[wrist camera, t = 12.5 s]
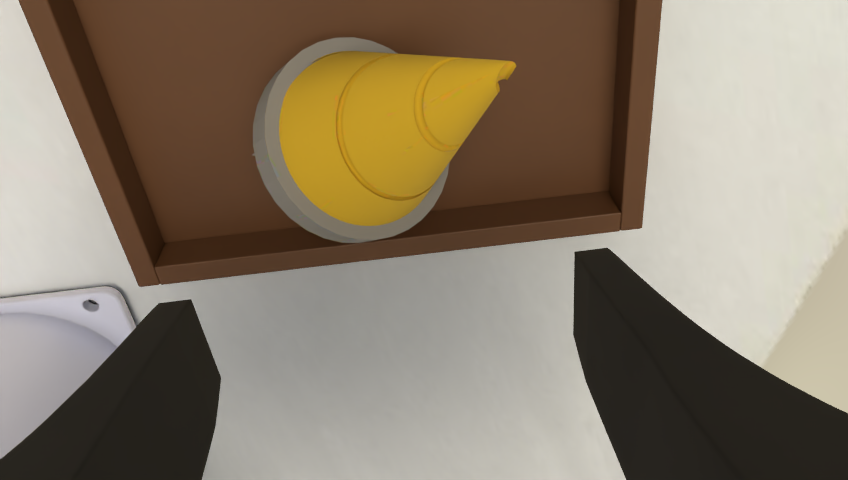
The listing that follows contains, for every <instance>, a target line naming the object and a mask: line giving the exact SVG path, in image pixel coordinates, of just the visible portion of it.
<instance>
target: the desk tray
mask: <svg viewBox="0 0 848 480" xmlns="http://www.w3.org/2000/svg"><path fill="white" fill-rule="evenodd" d="M19 3H20V5H21V7H22V10H23V12H24V14H25V17H26V19H27V22H28V24H29V26H30V29H31V31H32V33H33V36H34V38H35V41H36V43H37V45H38V48H39V50H40V52H41V55H42V57H43V60H44V62H45V64H46V67H47V69H48V71H49V74H50V76H51V79H52V81H53V83H54V86H55V88H56V90H57V93H58V95H59V98H60V100H61V102H62V105H63V107H64V109H65V112H66V114H67V117H68V119H69V121H70V124H71V126H72V128H73V131H74V133H75V136H76V138H77V140H78V143H79V145H80V148H81V150H82V152H83V155H84V157H85V159H86V162H87V164H88V167H89V169H90V171H91V174H92V176H93V178H94V181H95V183H96V186H97V188H98V190H99V193H100V195H101V197H102V200H103V202H104V205H105V207H106V209H107V212H108V214H109V216H110V219H111V221H112V224H113V226H114V228H115V231H116V233H117V235H118V238H119V240H120V243H121V245H122V247H123V250H124V252H125V254H126V257H127V259H128V262H129V264H130V266H131V269H132V271H133V273H134V276H135V278H136V281H137V283H138V285H139V286H140V287H143V286H151V285H159V284H160V283H161V284H162V285H163V284H171V283H180V282H188V281H197V280H205V279H214V278H222V277H231V276H239V275H248V274H257V273H265V272H274V271H282V270H291V269H299V268H308V267H316V266H325V265H333V264H342V263H351V262H359V261H368V260H376V259H385V258H393V257H402V256H410V255H419V254H427V253H436V252H445V251H453V250H462V249H470V248H479V247H487V246H496V245H504V244H513V243H521V242H530V241H538V240H547V239H556V238H564V237H573V236H581V235H590V234H598V233H607V232H615V231H620V230H631V229H639V228H642V222H643V211H644V199H645V188H646V177H647V166H648V155H649V143H650V132H651V121H652V110H653V99H654V87H655V76H656V65H657V54H658V42H659V31H660V20H661V9H662V0H19ZM343 37H355V38H360V39H365V40H370V41H373V42H376V43H378V44H381V45H383V46H386V47H388V48H390V49H391V50H393V51H395V52H396V53H398V54H410V55H427V56H443V57H459V58H475V59H490V60H504V61H513V62H514V63H515V64H516V68H515V69H514V71H513V72H512V74H511V75H510V77H509V78H508V80H506V79H502V80H499V81H498V84H499V88H500V91H499V93H498V94H497V95H496V97H495V98H494V100H493V101H492V102H491V104H490V105H489V107H488V108H487V110H486V111H485V112H484V114H483V115H482V117H481V118H480V119H479V121H478V122H477V124H476V125H475V127H474V128H473V129H472V131H471V132H470V134H469V135H468V137H467V138H466V139H465V141H464V142H463V144H462V145H461V146H460V148H459V149H458V151H457V152H456V154H455V155H454V156H453V158H452V159H451V161H450V162H449V169H448V175H447V178H446V181H445V184H444V187H443V190H442V193H441V194H440V196H439V198H438V200H437V201H436V203H435V205H434V207H433V208H432V209H431V210H430V211H429V212H428V213H427V215H426V216H425V217H424V218H423V219H422V220H421V221H419V222H418V223H417V224H415V225H414V226H413V227H411V228H410V229H409V230H406V231H404V232H402V233H400V234H397V235H395V236H393V237H388V238H383V239H378V240H373V241H368V242H363V243H341V242H337V241H333V240H329V239H325V238H322V237H320V236H318V235H316V234H313V233H311V232H309V231H307V230H305V229H304V228H303V227H301V226H300V225H299V224H297V223H296V222H294V221H293V220H292V219H290V218H289V217H288V216H287V214H286V213H285V212H284V211H283V210H282V209H281V208H280V207H279V206H278V205H277V204H276V202H275V201H274V199H273V198H272V196H271V194H270V193H269V191H268V190H267V188H266V187H265V185H264V182H263V180H262V177H261V175H260V172H259V170H258V167H257V164H256V158H255V156H253V155H252V154H254V148H253V122H254V117H255V112H256V108H257V104H258V102H259V100H260V97H261V95H262V93H263V91H264V88H265V87H266V86H267V84H268V83H269V81H270V80H271V79H272V77H273V76H274V75H275V73H276V72H278V71H279V70H280V69H281V68H282V67H283V66H284V65H285V64H287V63H288V62H289V61H290V60H291V59H292V58H294V57H295V56H296V55H297V54H298V53H299V52H301V51H302V50H303V49H305V48H307V47H309V46H311V45H313V44H315V43H317V42H320V41H324V40H328V39H332V38H343Z"/></svg>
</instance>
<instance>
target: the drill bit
mask: <svg viewBox="0 0 848 480" xmlns="http://www.w3.org/2000/svg"><path fill="white" fill-rule="evenodd" d="M515 68H516V64H515V63H514V62H513V61H504V60H490V59H475V58H459V57H443V56H427V55H410V54H398V53H396V52H395V51H393V50H391V49H390V48H388V47H386V46H383V45H381V44H378V43H376V42H373V41H370V40H365V39H360V38H355V37H343V38H332V39H328V40H324V41H320V42H317V43H315V44H313V45H311V46H309V47H307V48H305V49H303V50H302V51H301V52H299V53H298V54H297V55H296V56H295V57H294V58H292V59H291V60H290V61H289V62H288V63H287V64H285V65H284V66H283V67H282V68H281V69H280V70H279V71H278V72H276V73H275V75H274V76H273V77H272V79H271V80H270V81H269V83H268V84H267V86H266V87H265V88H264V91H263V93H262V95H261V97H260V100H259V102H258V104H257V108H256V112H255V117H254V122H253V148H254V154H252V155H253V156H255V158H256V164H257V167H258V170H259V172H260V175H261V177H262V180H263V182H264V185H265V187H266V188H267V190H268V191H269V193H270V194H271V196H272V198H273V199H274V201H275V202H276V204H277V205H278V206H279V207H280V208H281V209H282V210H283V211H284V212H285V213H286V214H287V216H288V217H289V218H290V219H292V220H293V221H294V222H296V223H297V224H299V225H300V226H301V227H303V228H304V229H305V230H307V231H309V232H311V233H313V234H316V235H318V236H320V237H322V238H325V239H329V240H333V241H337V242H341V243H363V242H368V241H373V240H378V239H383V238H388V237H393V236H395V235H397V234H400V233H402V232H404V231H406V230H409V229H410V228H411V227H413V226H414V225H415V224H417V223H418V222H419V221H421V220H422V219H423V218H424V217H425V216H426V215H427V213H428V212H429V211H430V210H431V209H432V208H433V207H434V205H435V203H436V201H437V200H438V198H439V196H440V194H441V193H442V190H443V187H444V184H445V181H446V178H447V175H448V169H449V162H450V161H451V159H452V158H453V156H454V155H455V154H456V152H457V151H458V149H459V148H460V146H461V145H462V144H463V142H464V141H465V139H466V138H467V137H468V135H469V134H470V132H471V131H472V129H473V128H474V127H475V125H476V124H477V122H478V121H479V119H480V118H481V117H482V115H483V114H484V112H485V111H486V110H487V108H488V107H489V105H490V104H491V102H492V101H493V100H494V98H495V97H496V95H497V94H498V93H499V91H500V88H499V84H498V81H499V80H502V79H506V80H508V78H509V77H510V75H511V74H512V72H513V71H514V69H515Z"/></svg>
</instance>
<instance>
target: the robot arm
mask: <svg viewBox="0 0 848 480" xmlns="http://www.w3.org/2000/svg"><path fill="white" fill-rule="evenodd" d="M88 300H93V301H95V302H97V304H92V303H90V302H89V301H88ZM573 335H574V339H575V342H576V346H577V350H578V354H579V358H580V362H581V365H582V369H583V372H584V376H585V379H586V383H587V385H588V388H589V390H590V393H591V395H592V397H593V400H594V402H595V405H596V407H597V410H598V412H599V415H600V417H601V420H602V422H603V424H604V427H605V429H606V432H607V434H608V436H609V439H610V441H611V444H612V446H613V448H614V451H615V453H616V456H617V458H618V461H619V463H620V465H621V468H622V470H623V473H624V475H625V477H626V480H848V413H846V412H844V411H842V410H839V409H837V408H835V407H833V406H831V405H829V404H827V403H825V402H823V401H821V400H819V399H817V398H815V397H813V396H811V395H809V394H807V393H805V392H803V391H802V390H800V389H798V388H796V387H794V386H792V385H790V384H788V383H786V382H785V381H783V380H781V379H779V378H778V377H776V376H774V375H772V374H770V373H769V372H767V371H766V370H764V369H762V368H761V367H759V366H758V365H756V364H754V363H753V362H751V361H749V360H748V359H746V358H744V357H743V356H741V355H740V354H738V353H737V352H735V351H734V350H732V349H731V348H729V347H728V346H726V345H725V344H723V343H722V342H720V341H719V340H718V339H716V338H715V337H713V336H712V335H711V334H709V333H708V332H706V331H705V330H704V329H702V328H701V327H700V326H698V325H697V324H696V323H694V322H693V321H692V320H691V319H689V318H688V317H687V316H685V315H684V314H683V313H682V312H681V311H679V310H678V309H677V308H676V307H675V306H673V305H672V304H671V303H670V302H668V301H667V300H666V299H665V298H664V297H662V296H661V295H660V294H659V293H658V292H657V291H655V290H654V289H653V288H652V287H651V286H650V285H649V284H647V283H646V282H645V281H644V280H643V279H642V278H641V277H640V276H638V275H637V274H636V273H635V272H634V271H633V270H632V269H631V268H630V267H629V266H627V265H626V264H625V263H624V262H623V261H622V260H621V259H620V258H619V257H618V256H616V255H615V254H614V253H613V252H612V251H611V250H610V249H608V248H602V249H594V250H586V251H578V252H575V268H574V331H573ZM220 382H221V377H220V374H219V371H218V369H217V366H216V364H215V361H214V358H213V356H212V353H211V350H210V348H209V345H208V343H207V340H206V337H205V335H204V332H203V329H202V327H201V324H200V322H199V319H198V316H197V314H196V311H195V308H194V306H193V303H192V301H191V299H190V300H182V301H174V302H166V303H159V304H158V305H157V306H156V307H155V308H154V309H153V310H152V311H151V312H150V313H149V314H148V315H147V316H146V317H145V318H144V319H143V320H142V321H141V322H140V323H139V325H138V326H137V327H136V325H135V323H134V320H133V318H132V316H131V314H130V311H129V309H128V307H127V305H126V302H125V300H124V298H123V296H122V294H121V293H120V292H119V291H118V290H116V289H115V288H112V287H107V286H102V287H94V288H85V289H77V290H68V291H59V292H51V293H42V294H34V295H25V296H17V297H8V298H0V480H202V476H203V472H204V469H205V465H206V461H207V457H208V453H209V449H210V445H211V442H212V438H213V433H214V429H215V424H216V417H217V409H218V401H219V392H220Z"/></svg>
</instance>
